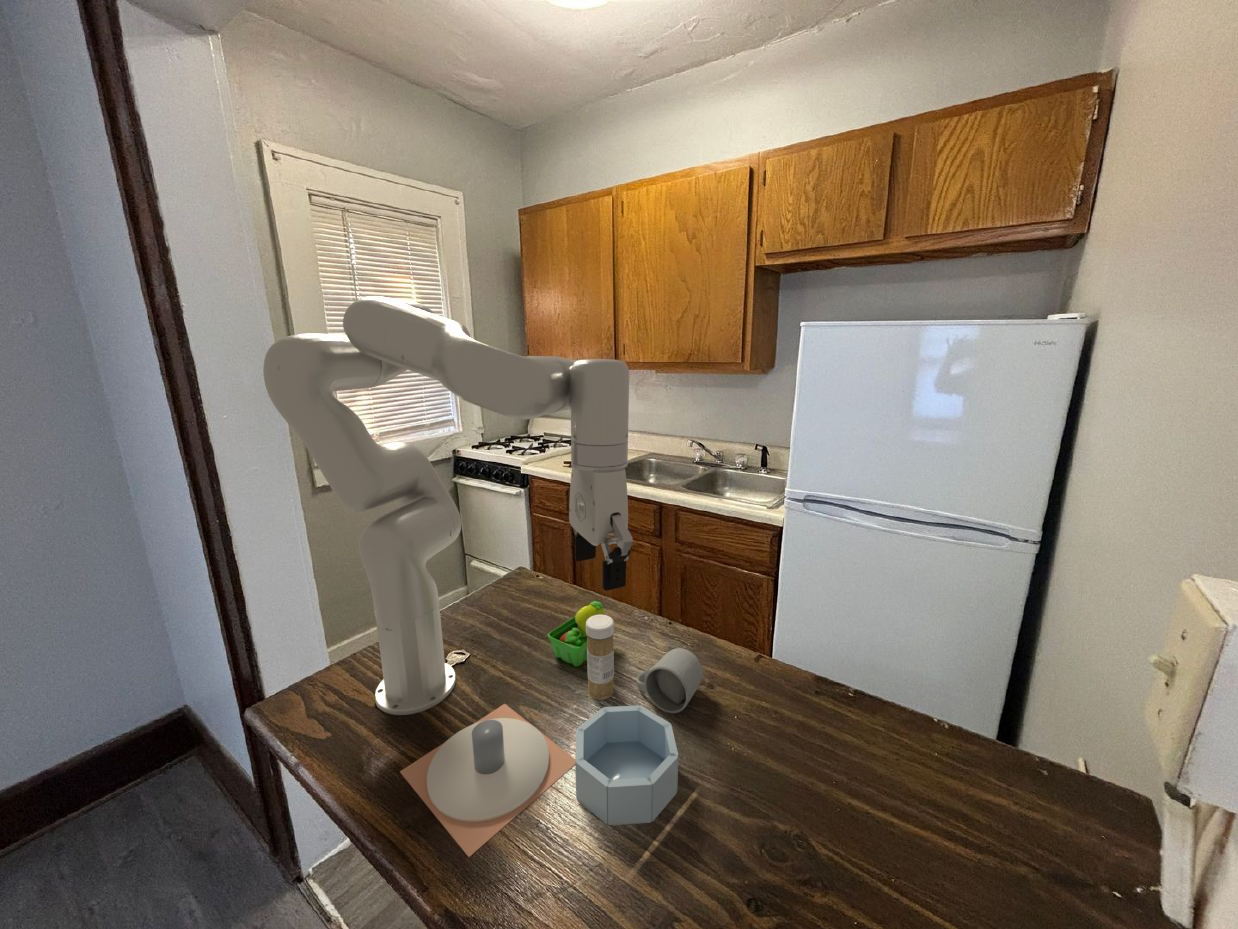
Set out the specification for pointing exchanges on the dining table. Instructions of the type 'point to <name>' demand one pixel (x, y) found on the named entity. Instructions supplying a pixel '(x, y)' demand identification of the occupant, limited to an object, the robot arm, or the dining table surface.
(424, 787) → the mat
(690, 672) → the ceramic mug
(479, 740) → the lid
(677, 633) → the dining table surface
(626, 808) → the bowl
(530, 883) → the dining table surface
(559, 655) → the fruit basket
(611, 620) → the spice bottle
